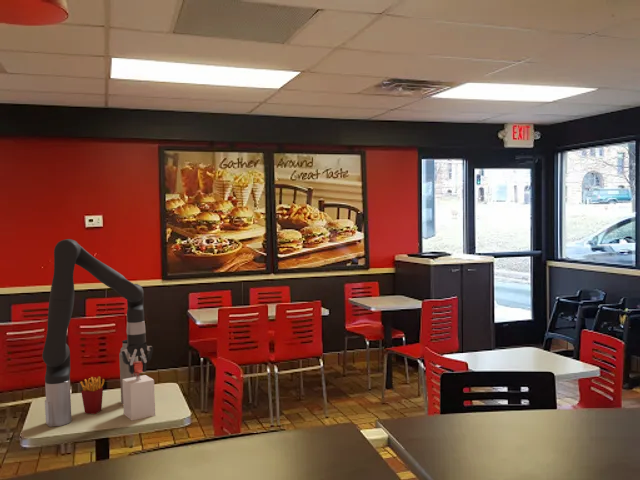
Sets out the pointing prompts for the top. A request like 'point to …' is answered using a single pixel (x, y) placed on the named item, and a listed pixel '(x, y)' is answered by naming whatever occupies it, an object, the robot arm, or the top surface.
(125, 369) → the thermos bottle
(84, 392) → the french fries
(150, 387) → the pump dispenser
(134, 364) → the pump plunger
